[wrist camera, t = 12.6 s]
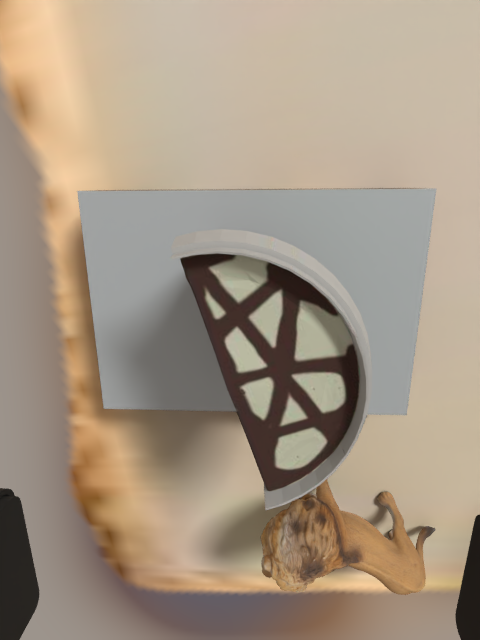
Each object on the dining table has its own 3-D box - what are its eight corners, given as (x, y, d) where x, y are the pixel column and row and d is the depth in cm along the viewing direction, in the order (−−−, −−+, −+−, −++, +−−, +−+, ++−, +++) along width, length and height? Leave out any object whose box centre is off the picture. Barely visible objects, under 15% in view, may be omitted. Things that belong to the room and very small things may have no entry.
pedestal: (411, 188, 27) (436, 188, 23) (388, 386, 31) (406, 415, 27) (103, 190, 28) (77, 191, 24) (122, 382, 32) (103, 408, 28)
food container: (360, 379, 26) (414, 487, 17) (267, 403, 27) (269, 520, 18) (307, 184, 23) (338, 184, 14) (203, 220, 24) (163, 243, 14)
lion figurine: (252, 502, 35) (249, 606, 26) (271, 450, 33) (273, 542, 25) (419, 546, 35) (470, 662, 27) (446, 497, 34) (508, 603, 25)
